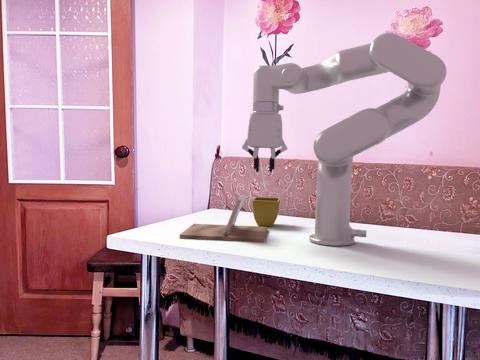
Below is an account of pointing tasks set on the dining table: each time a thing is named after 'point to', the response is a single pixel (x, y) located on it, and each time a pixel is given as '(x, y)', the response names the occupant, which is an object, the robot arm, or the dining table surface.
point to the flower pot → (265, 210)
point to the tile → (235, 213)
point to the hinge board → (225, 233)
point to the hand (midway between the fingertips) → (264, 171)
